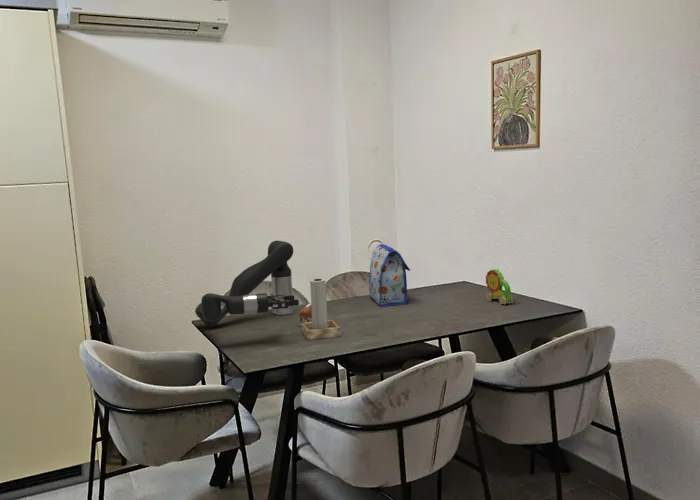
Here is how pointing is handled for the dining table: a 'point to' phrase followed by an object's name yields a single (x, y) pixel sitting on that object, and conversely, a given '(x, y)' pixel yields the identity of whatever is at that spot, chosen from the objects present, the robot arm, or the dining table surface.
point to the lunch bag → (388, 277)
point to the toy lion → (498, 287)
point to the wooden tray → (321, 331)
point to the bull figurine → (306, 314)
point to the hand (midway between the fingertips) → (296, 300)
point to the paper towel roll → (318, 304)
